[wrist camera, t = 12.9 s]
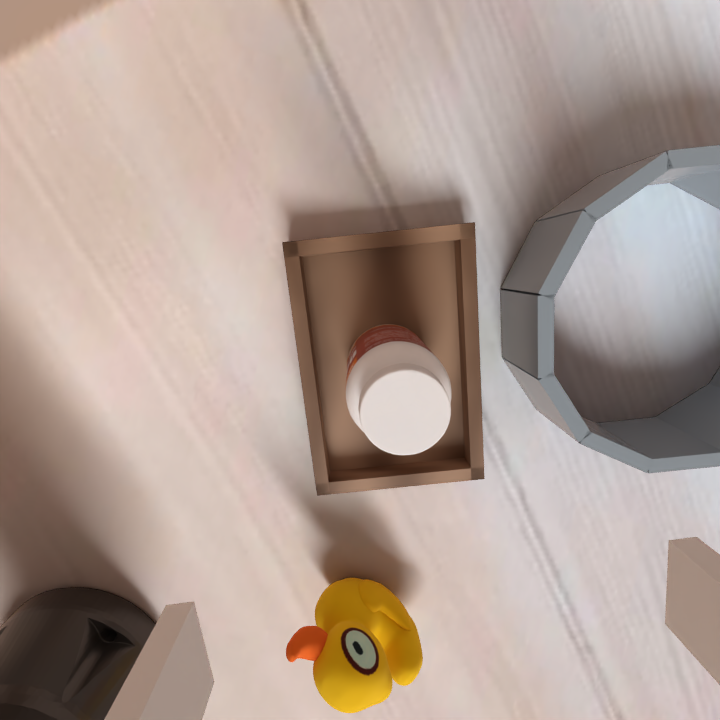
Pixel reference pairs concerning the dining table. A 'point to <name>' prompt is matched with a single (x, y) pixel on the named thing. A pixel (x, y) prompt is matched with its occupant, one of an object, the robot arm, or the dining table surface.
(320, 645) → the duckling
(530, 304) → the grey ringed piece
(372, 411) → the pill bottle
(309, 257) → the tray
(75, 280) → the dining table surface
